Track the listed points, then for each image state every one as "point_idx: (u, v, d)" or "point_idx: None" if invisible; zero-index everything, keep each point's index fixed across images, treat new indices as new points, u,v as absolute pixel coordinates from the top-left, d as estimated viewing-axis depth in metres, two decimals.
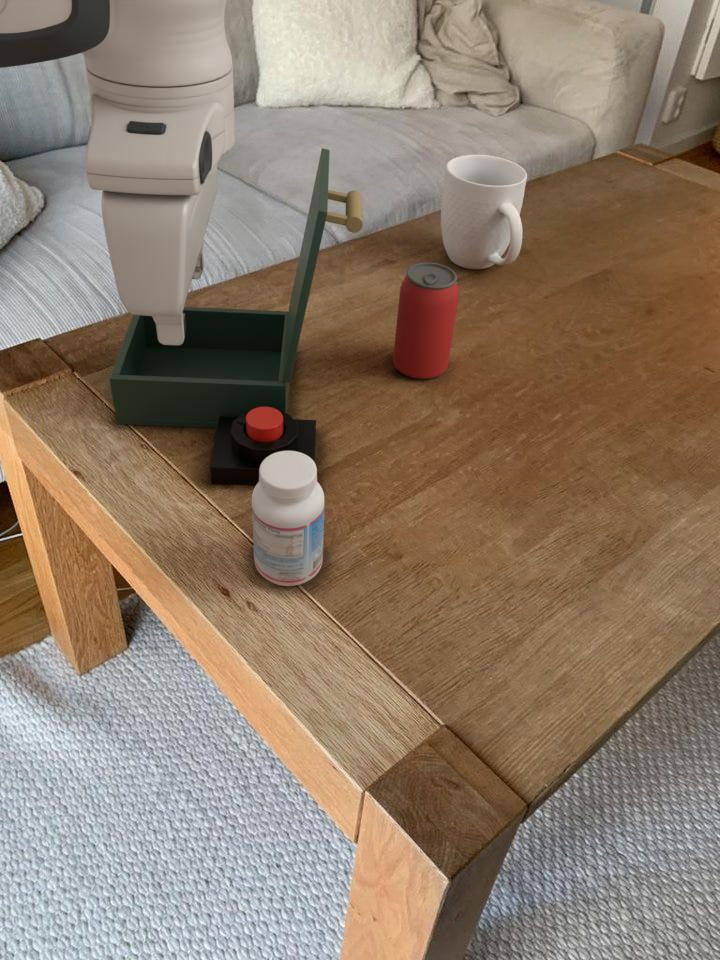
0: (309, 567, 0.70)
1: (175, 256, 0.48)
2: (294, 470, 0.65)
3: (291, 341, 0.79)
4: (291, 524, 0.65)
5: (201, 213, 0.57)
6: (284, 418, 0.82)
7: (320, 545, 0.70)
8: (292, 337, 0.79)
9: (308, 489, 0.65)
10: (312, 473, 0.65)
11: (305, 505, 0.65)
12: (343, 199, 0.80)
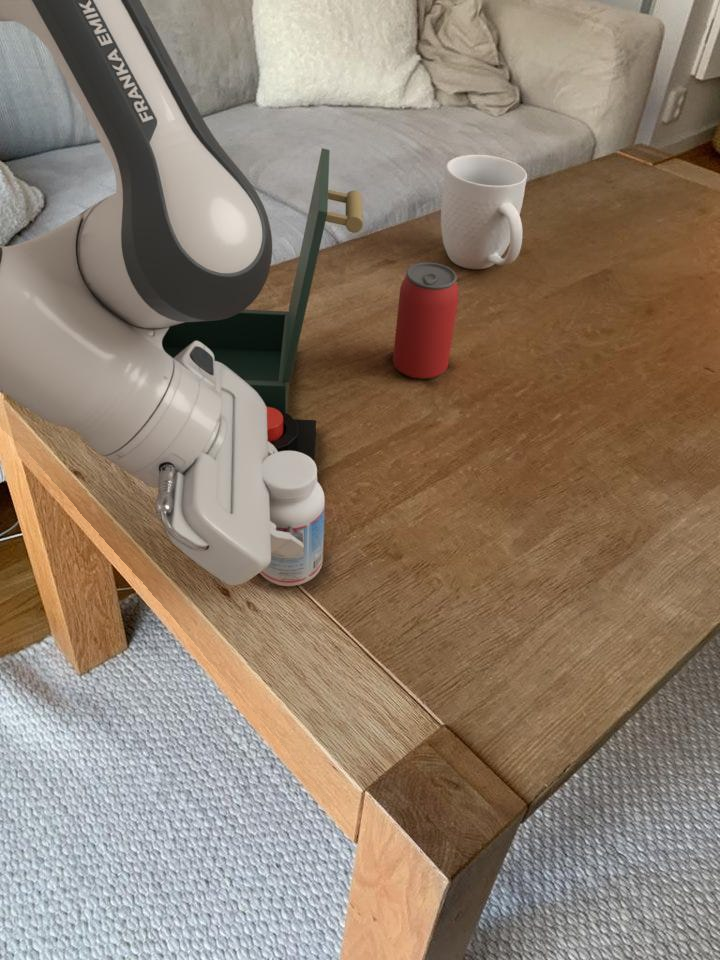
0: (309, 567, 0.70)
1: None
2: (294, 470, 0.65)
3: (291, 341, 0.79)
4: (292, 524, 0.65)
5: None
6: (284, 418, 0.82)
7: (320, 545, 0.70)
8: (292, 337, 0.79)
9: (308, 489, 0.65)
10: (312, 473, 0.65)
11: (305, 505, 0.65)
12: (343, 199, 0.80)
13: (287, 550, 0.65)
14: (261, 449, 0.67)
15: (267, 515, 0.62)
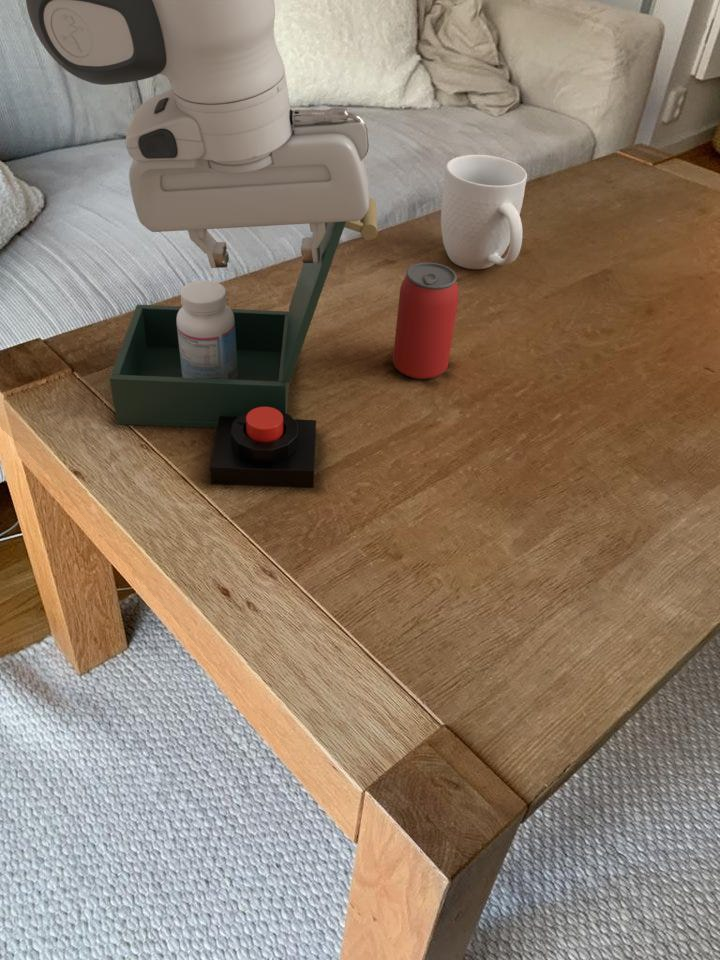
0: (225, 377, 0.88)
1: (131, 188, 0.69)
2: (207, 292, 0.83)
3: (296, 342, 0.79)
4: (206, 334, 0.83)
5: (254, 203, 0.69)
6: (284, 418, 0.82)
7: (233, 360, 0.88)
8: (297, 338, 0.79)
9: (219, 305, 0.83)
10: (222, 294, 0.83)
11: (217, 320, 0.84)
12: None
13: (318, 251, 0.74)
14: None
15: None
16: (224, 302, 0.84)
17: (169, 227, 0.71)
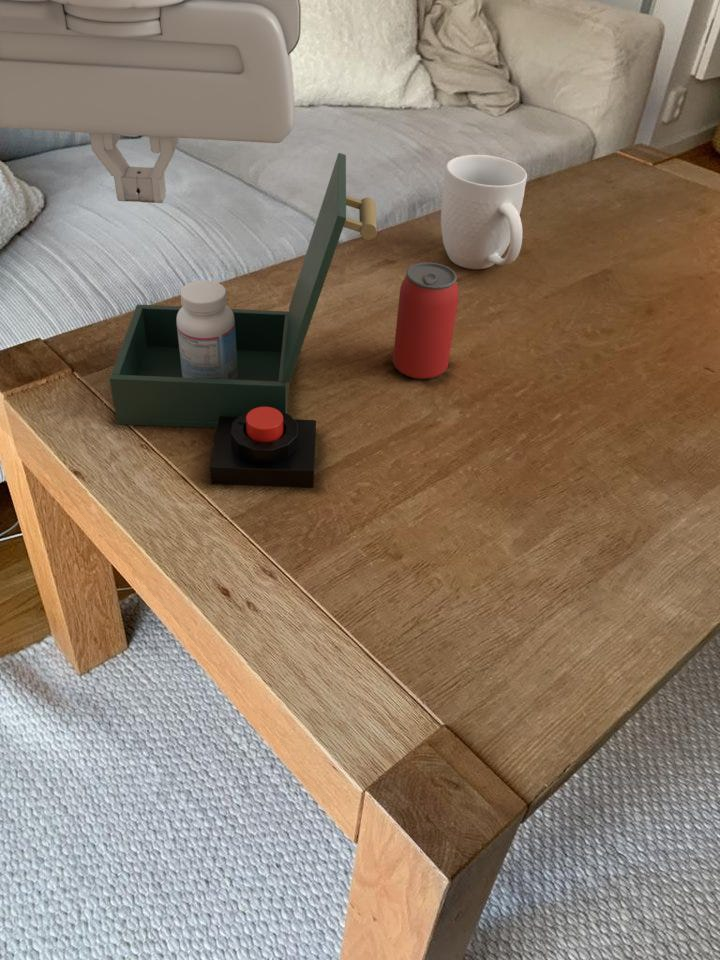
0: (225, 377, 0.88)
1: None
2: (208, 292, 0.83)
3: (296, 342, 0.79)
4: (206, 334, 0.83)
5: (130, 95, 0.48)
6: (284, 418, 0.82)
7: (233, 360, 0.88)
8: (297, 338, 0.79)
9: (219, 305, 0.83)
10: (222, 294, 0.83)
11: (217, 320, 0.84)
12: (357, 206, 0.80)
13: (162, 186, 0.54)
14: None
15: None
16: (224, 302, 0.84)
17: (1, 120, 0.49)
